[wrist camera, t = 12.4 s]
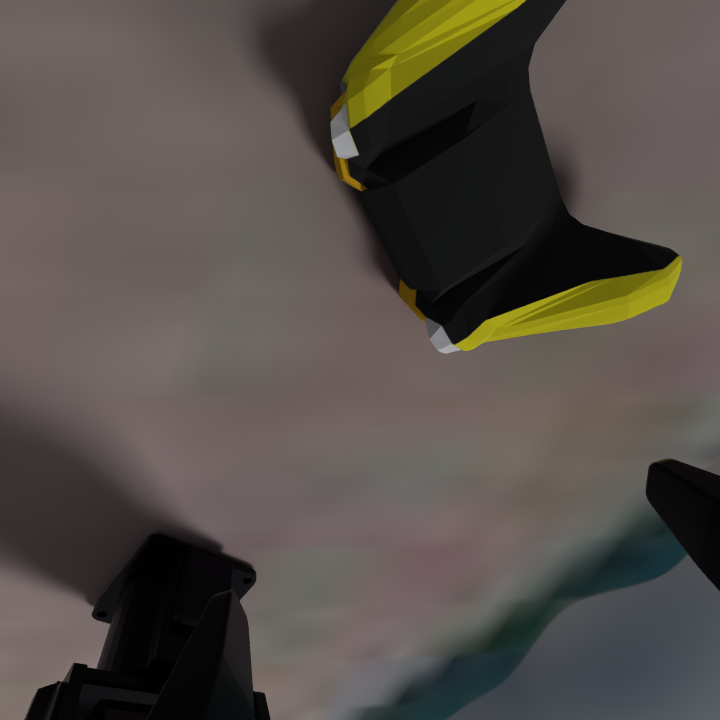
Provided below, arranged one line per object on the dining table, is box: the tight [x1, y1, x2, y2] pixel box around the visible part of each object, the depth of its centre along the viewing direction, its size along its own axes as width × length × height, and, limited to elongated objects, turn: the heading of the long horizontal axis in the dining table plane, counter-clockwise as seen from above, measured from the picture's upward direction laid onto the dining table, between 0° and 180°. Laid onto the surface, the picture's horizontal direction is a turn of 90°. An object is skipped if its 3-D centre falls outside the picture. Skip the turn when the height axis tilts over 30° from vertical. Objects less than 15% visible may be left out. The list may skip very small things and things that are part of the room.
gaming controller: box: [330, 0, 682, 354], centre depth 17 cm, size 15×6×10 cm
